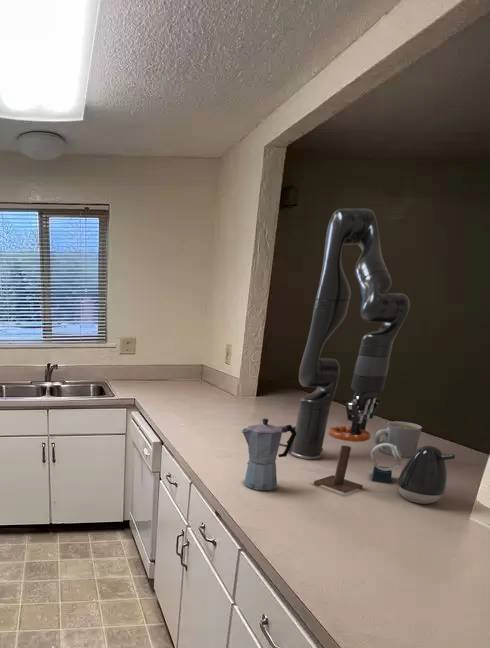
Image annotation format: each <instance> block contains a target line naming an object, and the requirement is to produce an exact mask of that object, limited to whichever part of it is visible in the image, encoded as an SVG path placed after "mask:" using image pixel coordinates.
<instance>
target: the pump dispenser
mask: <svg viewBox="0 0 490 648" xmlns="http://www.w3.org/2000/svg"><path fill="white" fill-rule="evenodd" d="M454 459H456V455H455V454H444V453H443V451H442V450H441V449H440V448H439V447H437V446H434V445H425V446H422V447H420V448H419V449H417V450H416V452H415V453H414V454H413V456H412V457H409V459H408V460H407V462H406V463H405V465H404V466H403V468H402V470H401V473H400V475H399V477H398V479H397V482H396V483H397V486H398V492H399V493H400V494H399V495H401V496H402V497H403V498H404V499H405V500H407V501H409V502H411V503H415V504H421V505H422V504H423V505H425V504H426V505H427V504H432V503H434V502H437V501H438V500H439V499H440V498H441V497H442V495H444V494H445V492H446V490H447V483H448V482H447V481H448V468H447V462H446V461H447V460H454Z"/></svg>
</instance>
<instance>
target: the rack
mask: <svg viewBox="0 0 490 648" xmlns="http://www.w3.org/2000/svg"><path fill="white" fill-rule="evenodd" d="M351 450H352V446H349V445H341V446H340V449H339V455H338V460H337V464H336V468H335V474H334V475H333V474H332V475H329V476H326V477H323V478H320V479H315V480H314V481H313V485H314V486H316V487H320V486H324V487H327V488H329V489H332V490H335V491H337V492H340V493H343V494H346V493H348V492H351V491H355V490H358V489H359V490H363V487H364V484H361V483H357V482H354V481H352V480H348V479H345V477H346V472H347V469H348V468H347V467H348V463H349V459H350V454H351Z"/></svg>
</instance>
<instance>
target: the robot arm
mask: <svg viewBox="0 0 490 648" xmlns="http://www.w3.org/2000/svg"><path fill="white" fill-rule="evenodd" d="M328 221H329V222H328V224H327V229H326V235H325V241H324V251H323V259H322V268H321V273H320V279H319V283H318V288H317V292H316V296H315V300H314V306H313V312H312V318H311V322H310V323H311V324H310V328H309V333H308V336H307V341H306V345H305V348H304V351H303V355H302V359H301V361H300V366H299V371H298V381H299V382H298V383H299V384H300V385H301V386H302V387H303V388H304V387H305V388H316V389H314V391H312V392H311V393H309V394H307V395H304V396H302V397H301V398H300V399H299V403H298V409H297V410H298V411H297V416H296V422H295V426H292V427H293V428H294V430H295V431H296V433H297V434H296V436H295V438H294V441H293V443H292V445H291V447H290V449H289V452H288V454H291V455H292V456H293V457H296V458H298V459H304V460H319V459H321V458H322V453H323V451H324V448H323V447H324V441H325V436H326V430H327V425H328V421H329V415H330V410H331V404H332V402H333V401H334V398H335V395H336V391H337V386H338V383H339V379H340V373H341V367H340V363H339V361H338V360H337V359H335V358H333V357H332V358H331V357H321V354H322V351H323V348H324V346H325V345H326V342H327V341H328V340H329V338H330V337H331V336H332V335H333V334H334V333H335V332H336V330H337V329H338V328H339V327H340V325H341V324H342V323H343V321H344V320H345V319H346V316H347V313H348V309H349V304H350V300H351V297H352V296H351V295H352V291H351V287H350V284H349V281H348V278H347V276H346V274H345V271H344V269H343V268H344V267H343V263H342V252H343V246H353V245H357V246H358V248H360V250H361V253H360V255H359V257H358V259H357V261H356V263H355V266H354V272H353V273H354V274H353V275H354V279H355V281H356V284H357V287H358V289H359V316H360V317H361V319H363V321H365V322H367V323H382V324H381V325H380V327H379V328H378V329H377V330H373V331H369V332H366V333H365V334H363V336H362V338H361V342H360V346H359V350H358V351H359V352H358V356H357V359H356V361H355V366H354V369H353V375H352V380H351V385H350V389H351V390H352V391H354V395H352V396H353V397H352V400H351V401H347V402H346V403H345V411H346V417H347V418H346V419H347V421H349V422H352V423H351V426H350V427H351V431H350V433H349V434H350V435H359V433H360V429H363V430H365V431H366V428H367V424H368V422H369V421H370V420H372V419H373V418H374V417H375V415H376V412H377V411H378V408H379V407H380V405H381V403H382V398H378V393H381V392H382V393H383V391H384V389H385V384H386V380H387V376H388V371H389V367H390V358H391V353H392V349H393V344H394V341H395V339H396V337H397V335H398V333H399V331H400V329H401V327H402V326H403V323H404V321H405V320H406V318H407V316H408V314H409V311H410V308H411V307H410V305H411V303H410V299H409V296H407V294H405V293H401V292H388V291H389V290H390V289H391V287H392V283H393V282H392V278H391V275H390V273H389V270H388V267H387V266H386V263H385V261H384V258H383V254H382V247H381V240H380V234H379V233H380V232H379V227H378V221H377V217H376V214H375V212H374V211H373V210H372V209H370V208H363V207H362V208H361V207H360V208H337V209H336V210H335V211H334V212H333V213H332V215H331V217H330V219H329V220H328ZM288 442H289V439H288V440H287V441H286V444H283V443H280V444H279V446H282V447H285V448H286V447H287V444H288Z"/></svg>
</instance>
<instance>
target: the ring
mask: <svg viewBox="0 0 490 648" xmlns="http://www.w3.org/2000/svg"><path fill="white" fill-rule="evenodd" d="M350 431H351V426H334V427H333V426H332V427H330V428H329V429H328V435H329V436H330V437H332V438H333V439H336V440H341V441H345V442H351V443H352V442H353V443H355V442H356V443H359V442H361V443H362V442H366V441H370V440H371V432H370V431H367V430H366V429H365V430H363V429H360V433H359V435H351V434H350Z"/></svg>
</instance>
